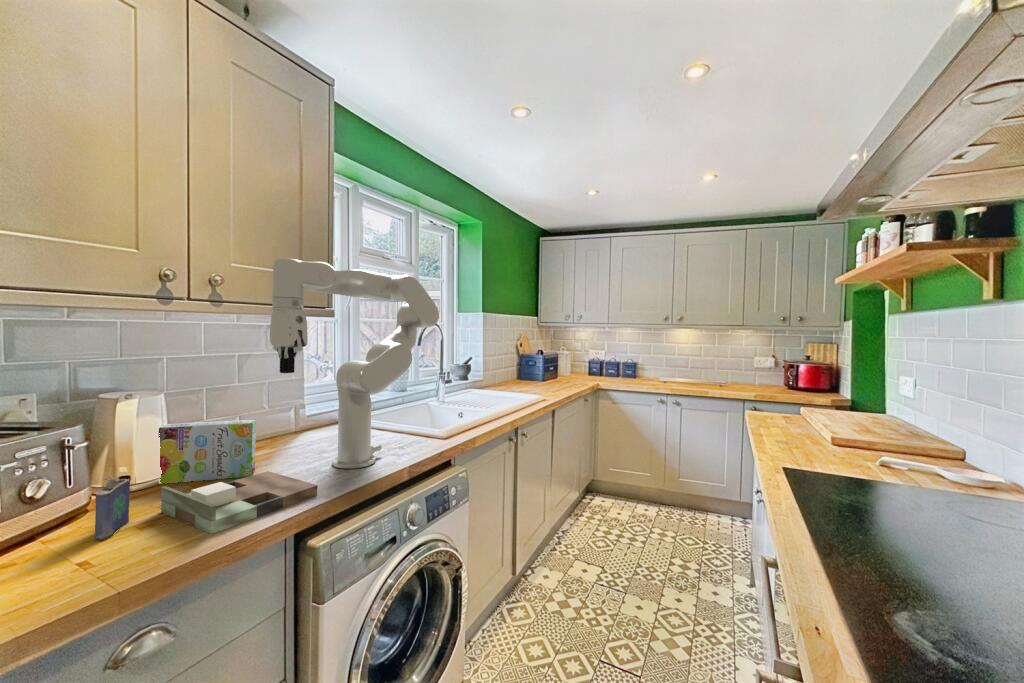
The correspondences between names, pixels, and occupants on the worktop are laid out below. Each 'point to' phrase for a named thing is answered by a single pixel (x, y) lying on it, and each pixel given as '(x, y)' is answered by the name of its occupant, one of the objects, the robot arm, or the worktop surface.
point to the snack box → (207, 450)
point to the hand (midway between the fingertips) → (287, 372)
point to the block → (215, 493)
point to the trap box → (237, 501)
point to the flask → (112, 508)
